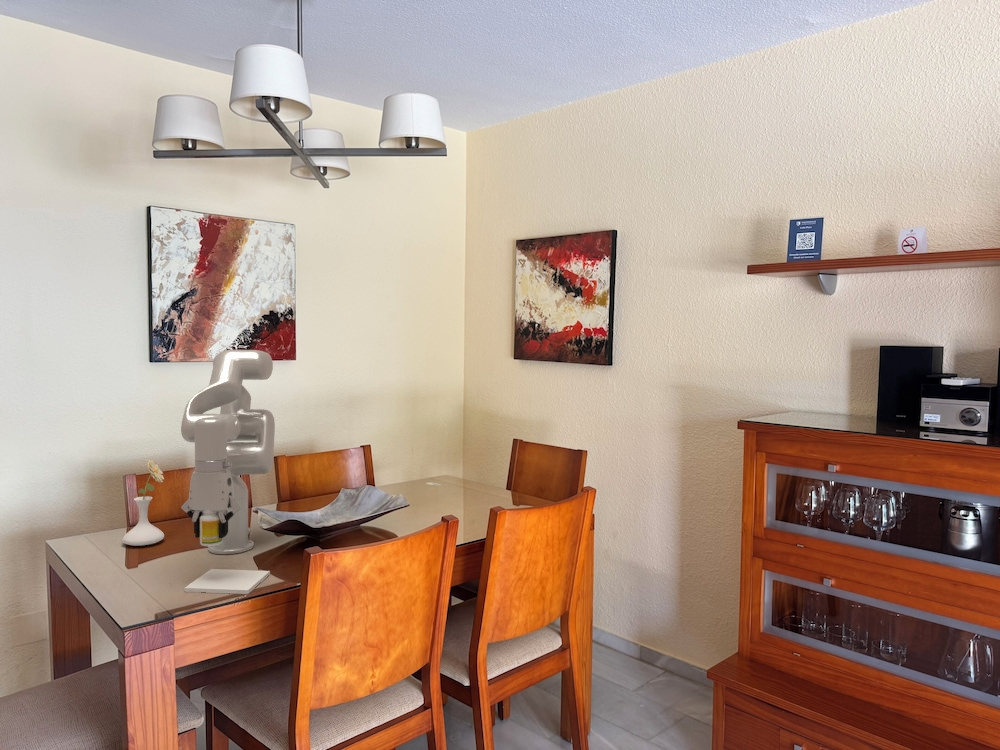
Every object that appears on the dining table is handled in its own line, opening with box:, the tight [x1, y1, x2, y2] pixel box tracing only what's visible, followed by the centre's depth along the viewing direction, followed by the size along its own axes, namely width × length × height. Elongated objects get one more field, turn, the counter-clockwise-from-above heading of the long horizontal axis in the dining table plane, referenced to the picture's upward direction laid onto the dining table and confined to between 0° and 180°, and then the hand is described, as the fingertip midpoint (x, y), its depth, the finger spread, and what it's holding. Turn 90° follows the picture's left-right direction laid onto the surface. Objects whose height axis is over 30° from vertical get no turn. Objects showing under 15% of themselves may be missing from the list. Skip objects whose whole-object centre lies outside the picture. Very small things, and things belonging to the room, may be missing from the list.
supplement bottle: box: [199, 509, 222, 547], centre depth 176 cm, size 5×5×10 cm
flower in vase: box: [121, 459, 165, 547], centre depth 209 cm, size 13×11×25 cm
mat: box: [183, 568, 271, 595], centre depth 176 cm, size 14×16×1 cm
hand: (211, 535), depth 176 cm, fingers closed on supplement bottle, 5 cm apart
